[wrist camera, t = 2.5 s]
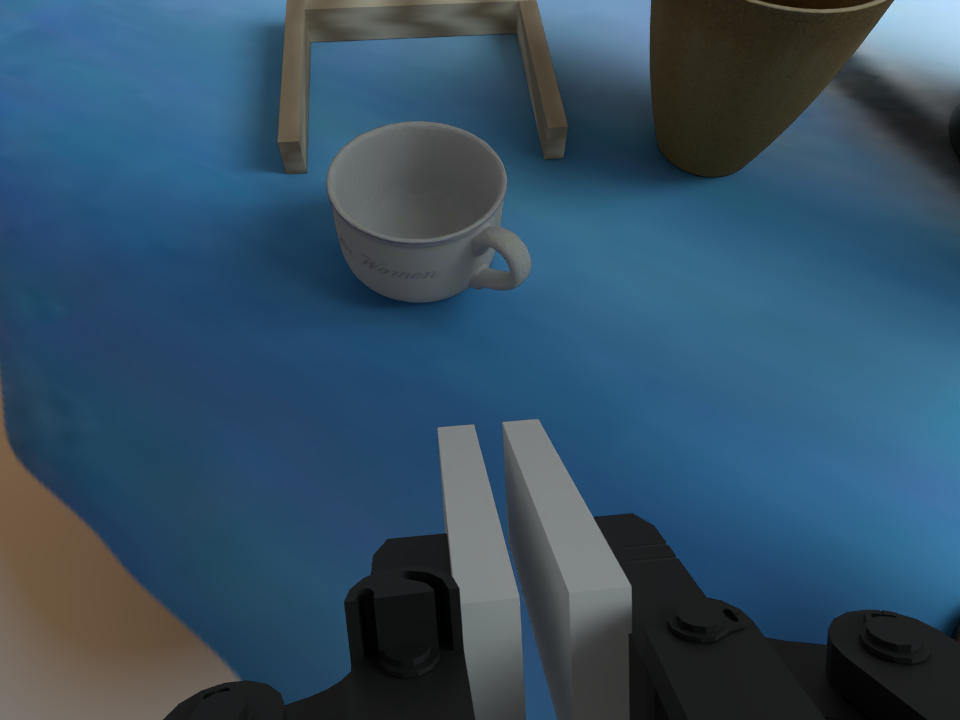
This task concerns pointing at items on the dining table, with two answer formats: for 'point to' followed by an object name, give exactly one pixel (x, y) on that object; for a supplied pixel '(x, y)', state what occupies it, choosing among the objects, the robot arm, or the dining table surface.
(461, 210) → the teacup
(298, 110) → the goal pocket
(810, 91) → the plant pot
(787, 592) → the dining table surface
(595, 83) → the dining table surface
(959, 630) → the candlestick
